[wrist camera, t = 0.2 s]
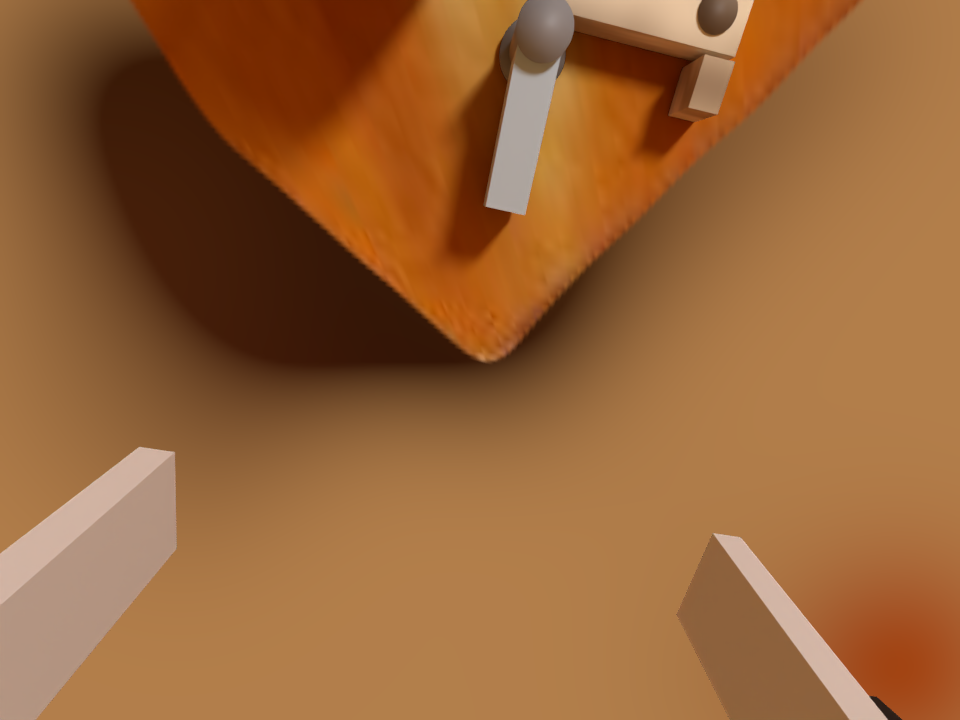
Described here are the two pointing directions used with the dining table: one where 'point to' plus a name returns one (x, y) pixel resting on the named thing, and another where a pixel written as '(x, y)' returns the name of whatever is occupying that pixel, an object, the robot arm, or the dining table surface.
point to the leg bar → (527, 100)
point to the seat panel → (668, 42)
